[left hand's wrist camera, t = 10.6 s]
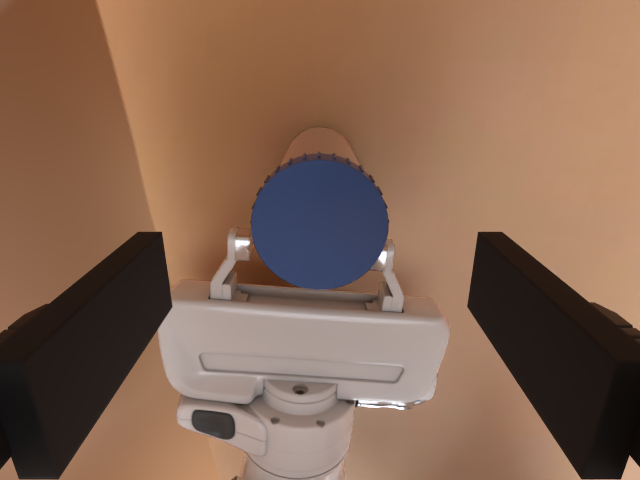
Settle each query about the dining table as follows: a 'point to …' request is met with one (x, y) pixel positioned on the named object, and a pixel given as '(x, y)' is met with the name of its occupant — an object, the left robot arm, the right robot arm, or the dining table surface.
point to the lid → (319, 221)
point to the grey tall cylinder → (319, 144)
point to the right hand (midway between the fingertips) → (312, 235)
